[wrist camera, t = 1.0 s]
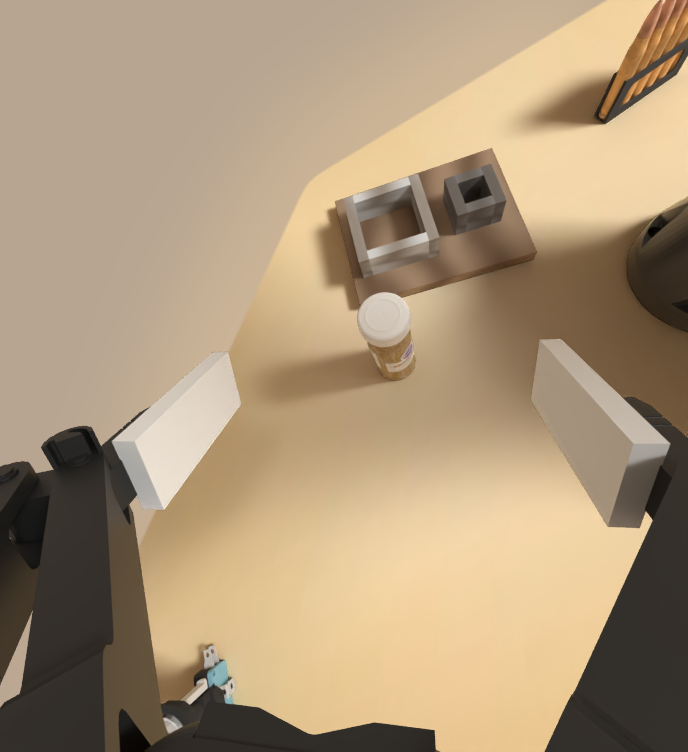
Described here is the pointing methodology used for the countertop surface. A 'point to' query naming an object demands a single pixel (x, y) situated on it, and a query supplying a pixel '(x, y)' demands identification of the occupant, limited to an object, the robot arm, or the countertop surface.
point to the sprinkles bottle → (388, 334)
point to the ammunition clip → (649, 58)
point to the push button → (200, 694)
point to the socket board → (433, 228)
